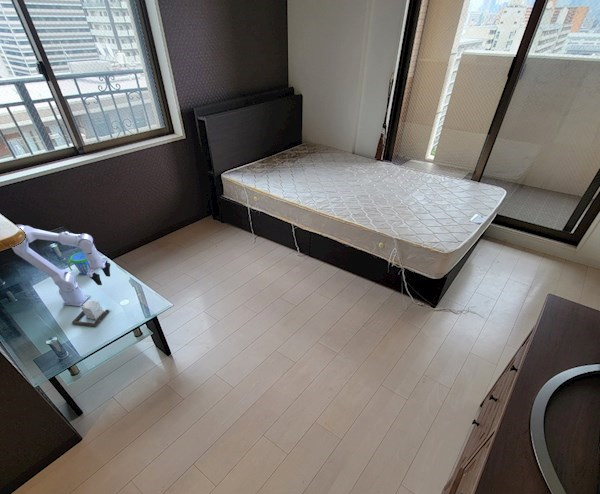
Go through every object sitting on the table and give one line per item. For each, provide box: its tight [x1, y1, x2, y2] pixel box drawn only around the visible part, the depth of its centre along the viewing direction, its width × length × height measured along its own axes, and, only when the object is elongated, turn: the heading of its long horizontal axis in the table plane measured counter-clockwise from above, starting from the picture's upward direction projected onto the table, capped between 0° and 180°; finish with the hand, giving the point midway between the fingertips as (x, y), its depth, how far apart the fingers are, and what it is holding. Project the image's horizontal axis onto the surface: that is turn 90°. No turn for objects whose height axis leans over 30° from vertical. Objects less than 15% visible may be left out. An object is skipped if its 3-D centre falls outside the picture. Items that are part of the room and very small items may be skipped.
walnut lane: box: [71, 309, 110, 328], centre depth 170 cm, size 12×12×1 cm
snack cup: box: [67, 251, 91, 275], centre depth 197 cm, size 16×10×10 cm
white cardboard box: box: [80, 299, 105, 321], centre depth 170 cm, size 6×6×7 cm
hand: (104, 280), depth 178 cm, fingers open, 7 cm apart
